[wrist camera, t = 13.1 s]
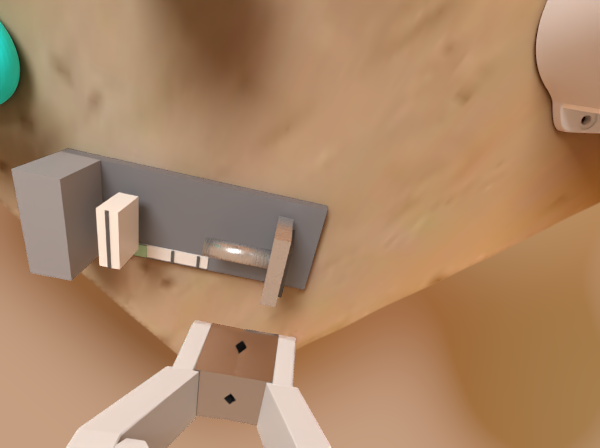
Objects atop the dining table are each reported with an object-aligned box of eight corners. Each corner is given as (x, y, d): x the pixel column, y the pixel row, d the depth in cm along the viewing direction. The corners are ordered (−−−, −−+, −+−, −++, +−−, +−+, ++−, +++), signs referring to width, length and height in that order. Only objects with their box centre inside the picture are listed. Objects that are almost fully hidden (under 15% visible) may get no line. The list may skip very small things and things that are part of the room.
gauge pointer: (138, 196, 33) (117, 213, 30) (138, 249, 36) (119, 270, 33) (118, 192, 33) (95, 208, 30) (120, 245, 36) (98, 266, 32)
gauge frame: (327, 205, 36) (330, 237, 30) (304, 283, 41) (303, 325, 34) (67, 148, 34) (11, 168, 27) (76, 237, 39) (30, 272, 32)
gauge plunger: (297, 219, 35) (295, 243, 30) (282, 279, 38) (278, 307, 34) (215, 202, 34) (201, 223, 29) (208, 264, 37) (194, 291, 33)
